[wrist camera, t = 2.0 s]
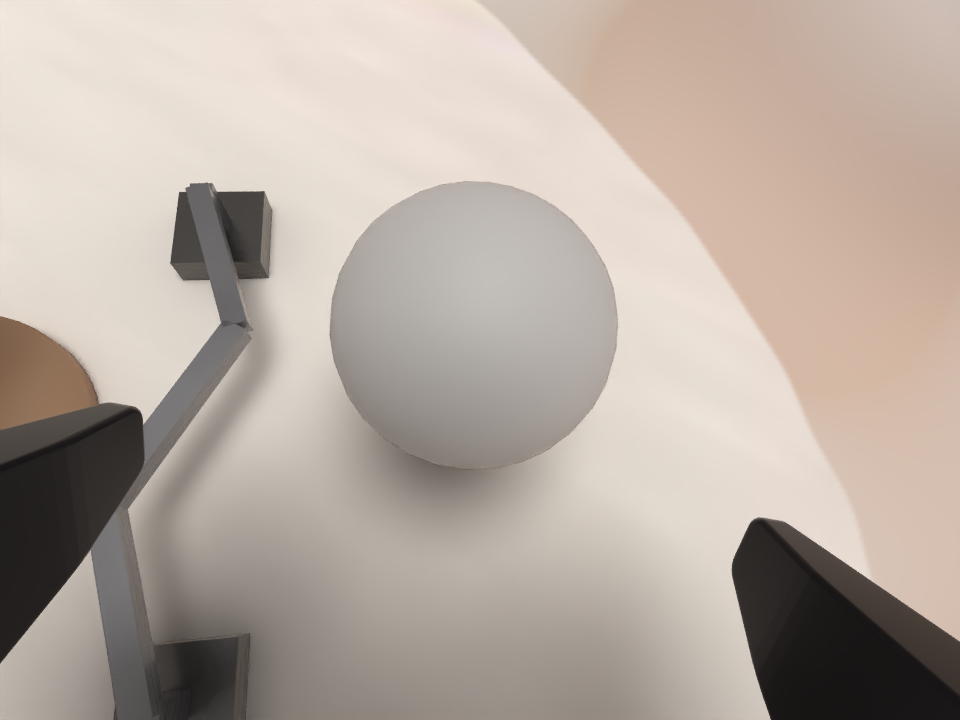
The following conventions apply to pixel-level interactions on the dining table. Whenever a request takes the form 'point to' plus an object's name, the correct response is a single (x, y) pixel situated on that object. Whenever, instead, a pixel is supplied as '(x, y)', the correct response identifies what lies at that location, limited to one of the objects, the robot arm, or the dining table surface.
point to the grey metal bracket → (131, 654)
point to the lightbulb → (473, 325)
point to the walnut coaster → (38, 377)
